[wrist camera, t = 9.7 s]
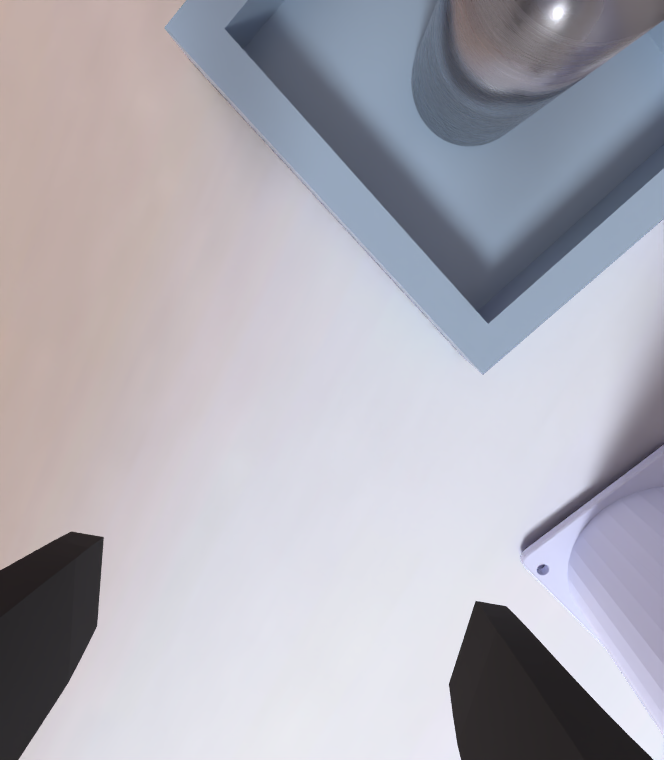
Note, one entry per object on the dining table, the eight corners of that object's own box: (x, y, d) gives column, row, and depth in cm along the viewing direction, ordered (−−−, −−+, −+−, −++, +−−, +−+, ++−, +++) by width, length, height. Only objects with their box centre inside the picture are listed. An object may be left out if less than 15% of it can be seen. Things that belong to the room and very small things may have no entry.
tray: (740, 115, 16) (811, 91, 14) (464, 358, 18) (482, 374, 16) (470, -277, 14) (498, -389, 11) (190, 61, 16) (164, 28, 14)
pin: (562, 83, 15) (790, -91, 8) (463, 173, 16) (581, 96, 8) (485, -26, 15) (651, -339, 7) (385, 73, 15) (436, -112, 8)
